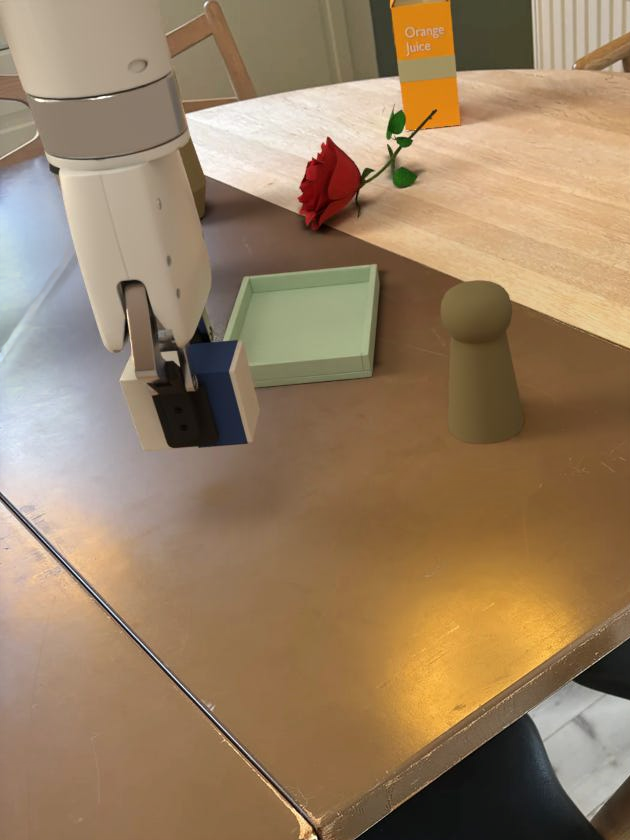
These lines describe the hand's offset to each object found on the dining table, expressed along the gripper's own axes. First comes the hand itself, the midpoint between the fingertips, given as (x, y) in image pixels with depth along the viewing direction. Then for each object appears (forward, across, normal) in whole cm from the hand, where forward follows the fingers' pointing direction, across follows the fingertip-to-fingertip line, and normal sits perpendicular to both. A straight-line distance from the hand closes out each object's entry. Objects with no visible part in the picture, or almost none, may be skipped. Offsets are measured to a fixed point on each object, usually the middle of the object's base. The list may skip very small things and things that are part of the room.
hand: (200, 421), depth 65 cm
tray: (+9, -31, +2) cm, 32 cm away
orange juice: (+10, -95, +14) cm, 96 cm away
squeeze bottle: (+10, -65, -16) cm, 67 cm away
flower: (+10, -68, +7) cm, 69 cm away
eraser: (+1, 0, 0) cm, 1 cm away
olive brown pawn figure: (+9, -12, +18) cm, 24 cm away
